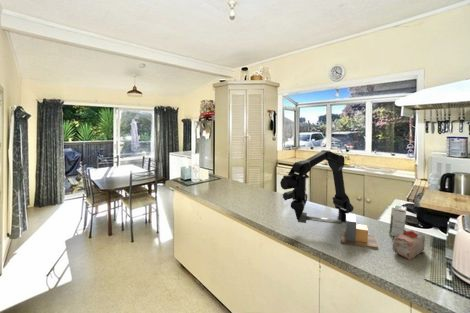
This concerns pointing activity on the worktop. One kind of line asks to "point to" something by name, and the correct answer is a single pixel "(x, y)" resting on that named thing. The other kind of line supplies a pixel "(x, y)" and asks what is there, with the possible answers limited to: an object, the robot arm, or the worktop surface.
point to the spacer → (361, 233)
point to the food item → (409, 244)
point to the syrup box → (397, 220)
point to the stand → (350, 234)
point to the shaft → (317, 219)
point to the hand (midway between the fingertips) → (299, 216)
